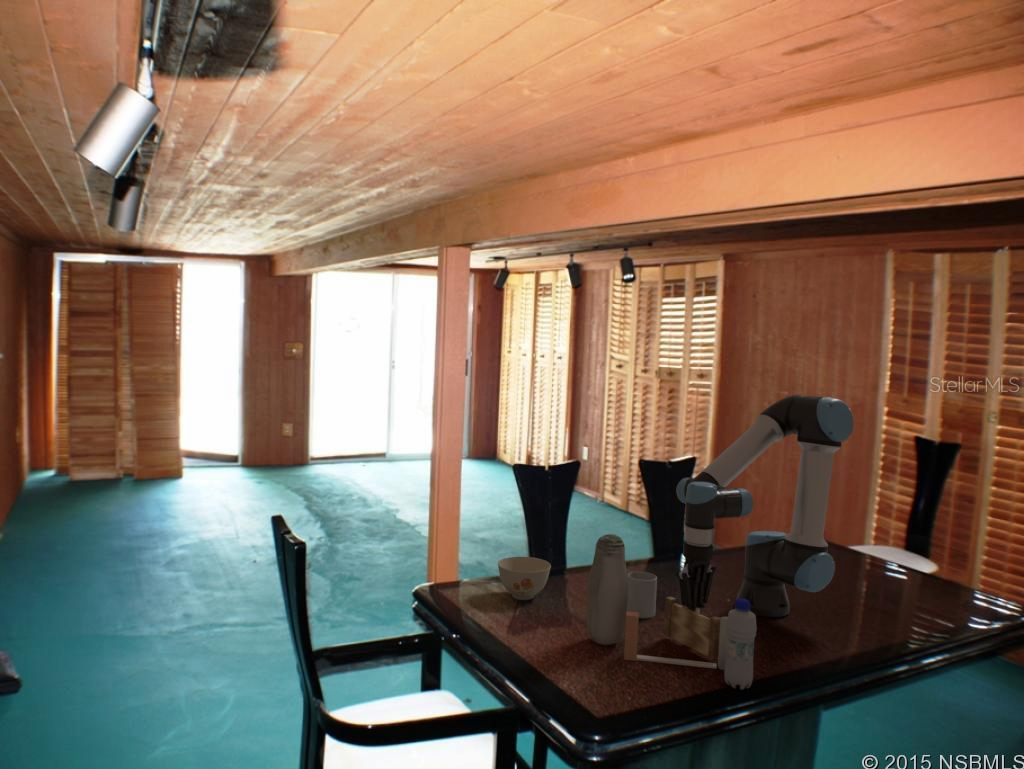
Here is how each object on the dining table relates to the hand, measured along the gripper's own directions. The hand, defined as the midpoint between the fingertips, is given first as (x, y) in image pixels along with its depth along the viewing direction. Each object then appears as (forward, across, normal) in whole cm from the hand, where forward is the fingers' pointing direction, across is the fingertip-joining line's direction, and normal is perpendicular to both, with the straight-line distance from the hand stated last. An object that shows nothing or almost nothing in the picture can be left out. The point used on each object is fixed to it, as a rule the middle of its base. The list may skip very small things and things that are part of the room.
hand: (692, 631), depth 196 cm
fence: (+3, +13, +7) cm, 15 cm away
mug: (+4, -4, -24) cm, 25 cm away
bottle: (+3, +10, +22) cm, 25 cm away
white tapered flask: (+3, +20, -12) cm, 23 cm away
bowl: (+4, +17, -51) cm, 54 cm away
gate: (+2, +4, +3) cm, 5 cm away
